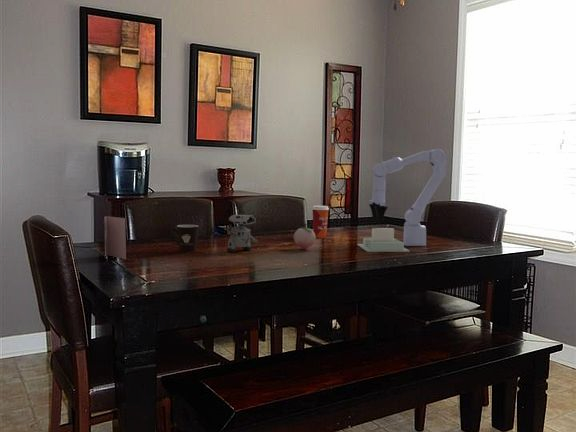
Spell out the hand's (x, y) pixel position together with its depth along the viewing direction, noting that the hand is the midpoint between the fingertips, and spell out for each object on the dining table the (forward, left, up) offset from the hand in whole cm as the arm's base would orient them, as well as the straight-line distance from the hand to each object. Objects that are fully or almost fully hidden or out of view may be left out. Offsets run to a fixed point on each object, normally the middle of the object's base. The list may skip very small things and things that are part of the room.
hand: (377, 220), depth 247 cm
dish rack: (+1, +13, -10) cm, 17 cm away
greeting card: (+108, +36, -11) cm, 114 cm away
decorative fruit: (+35, +16, -11) cm, 40 cm away
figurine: (+61, +22, -11) cm, 66 cm away
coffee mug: (+84, +19, -11) cm, 87 cm away
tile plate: (+1, +13, -10) cm, 16 cm away
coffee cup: (+23, -19, -11) cm, 32 cm away
